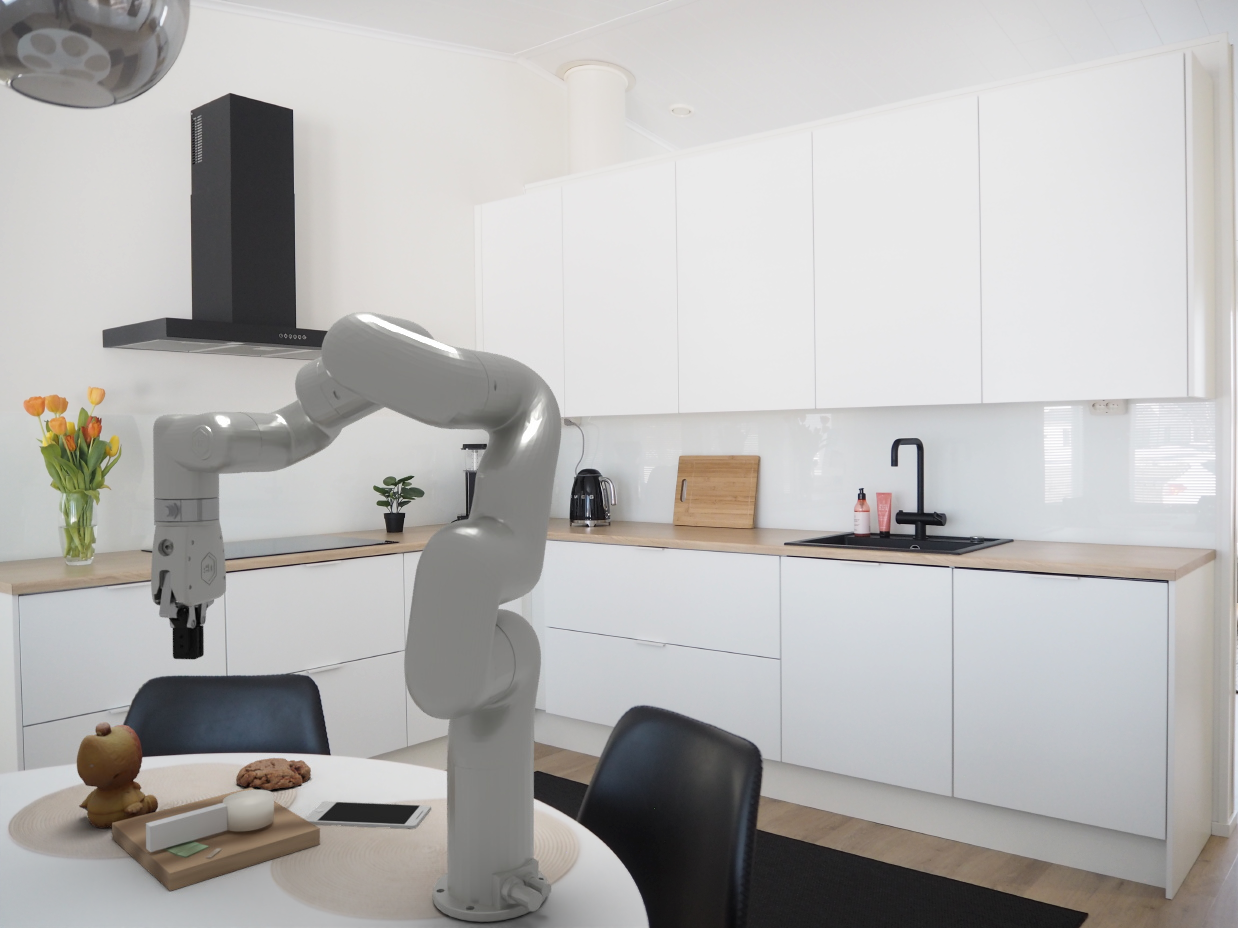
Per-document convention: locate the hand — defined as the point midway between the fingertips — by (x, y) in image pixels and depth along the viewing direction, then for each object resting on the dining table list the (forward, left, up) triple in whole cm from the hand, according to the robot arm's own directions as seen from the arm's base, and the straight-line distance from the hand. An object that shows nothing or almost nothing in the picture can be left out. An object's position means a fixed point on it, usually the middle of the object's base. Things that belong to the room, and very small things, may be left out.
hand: (188, 657), depth 121 cm
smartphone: (-9, -20, -24) cm, 32 cm away
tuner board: (-3, -2, -23) cm, 23 cm away
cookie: (+13, -17, -24) cm, 32 cm away
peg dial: (-6, 0, -21) cm, 21 cm away
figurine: (+13, +5, -23) cm, 27 cm away
